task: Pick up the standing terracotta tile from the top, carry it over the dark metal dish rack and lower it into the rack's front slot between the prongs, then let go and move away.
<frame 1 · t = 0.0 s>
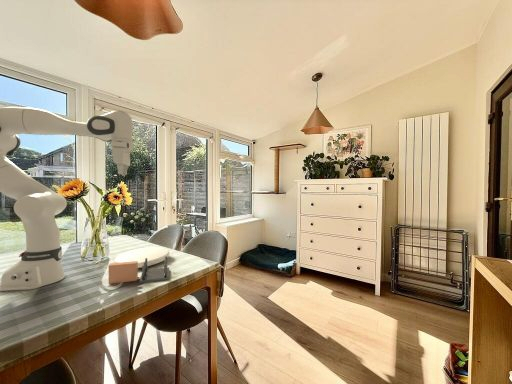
hand: (122, 174, 110), 48 cm above the table, tool pointing down, fingers open, 8 cm apart
rack: (155, 276, 108), on the table
tile: (123, 280, 102), on the table
plate: (143, 262, 127), on the table
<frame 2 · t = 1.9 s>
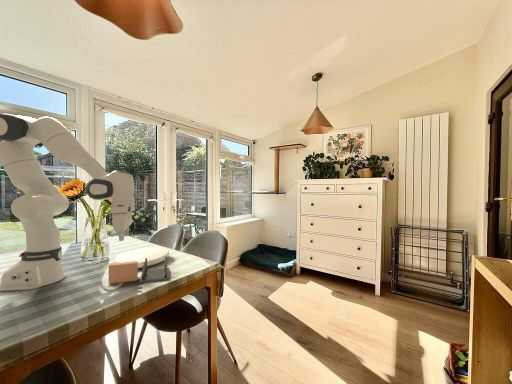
hand: (123, 238, 102), 19 cm above the table, tool pointing down, fingers open, 8 cm apart
nothing on the table moved.
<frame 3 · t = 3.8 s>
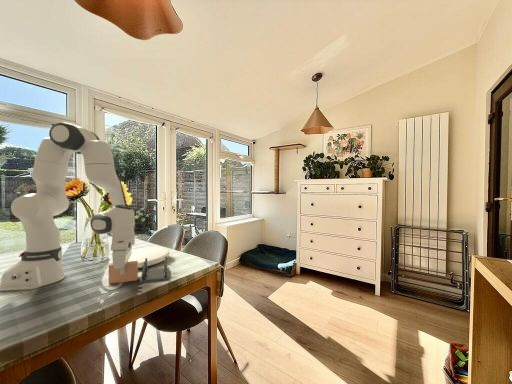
hand: (123, 271, 102), 4 cm above the table, tool pointing down, fingers closed on tile, 3 cm apart
tile: (123, 280, 102), on the table, touching gripper
everything else where it was.
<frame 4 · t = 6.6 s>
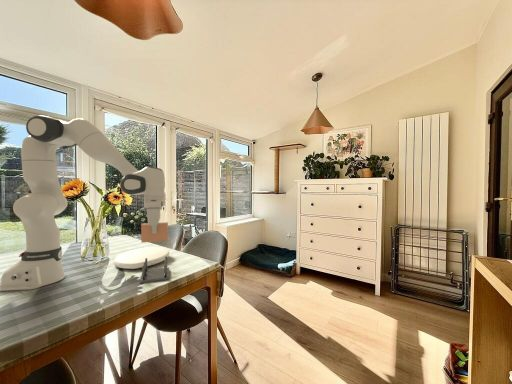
hand: (155, 232, 104), 21 cm above the table, tool pointing down, fingers closed on tile, 3 cm apart
tile: (155, 240, 105), point 17 cm above the table, touching gripper
everything else where it was.
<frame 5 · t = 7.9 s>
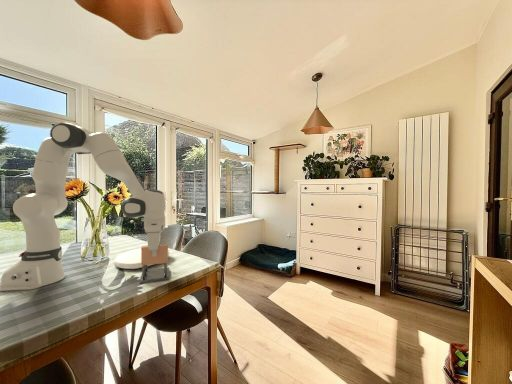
hand: (154, 254, 105), 11 cm above the table, tool pointing down, fingers closed on tile, 3 cm apart
tile: (155, 263, 105), point 7 cm above the table, touching gripper
everything else where it was.
when the fingers open (7 cm above the table, at t = 9.1 s): tile drops 1 cm, resting on rack.
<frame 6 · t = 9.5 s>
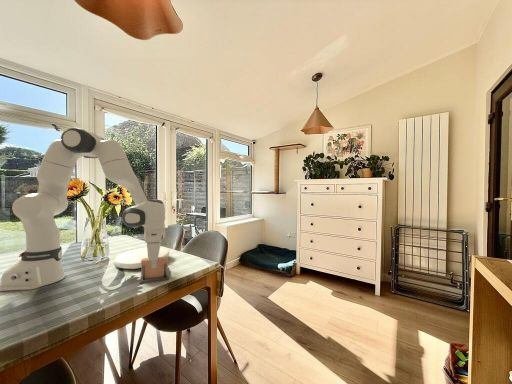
hand: (154, 264, 105), 7 cm above the table, tool pointing down, fingers open, 7 cm apart
tile: (154, 275, 105), point 1 cm above the table, touching rack
everything else where it was.
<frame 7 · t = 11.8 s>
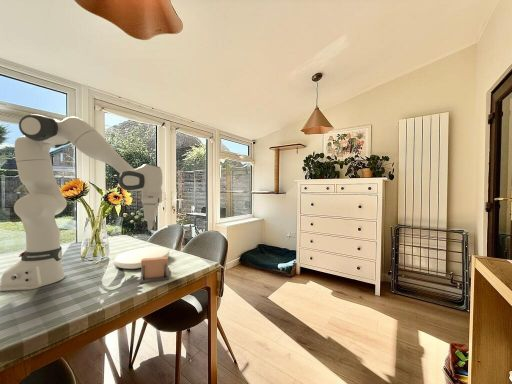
hand: (151, 227, 108), 23 cm above the table, tool pointing down, fingers open, 8 cm apart
nothing on the table moved.
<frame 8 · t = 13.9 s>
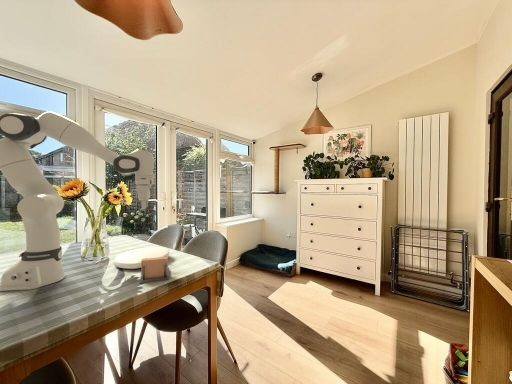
hand: (144, 207, 118), 31 cm above the table, tool pointing down, fingers open, 8 cm apart
nothing on the table moved.
at the end: tile 0.0 cm from the target spot on the rack, point 1.2 cm above the rack's base; tile tilted 0°; the gripper is holding nothing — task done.
